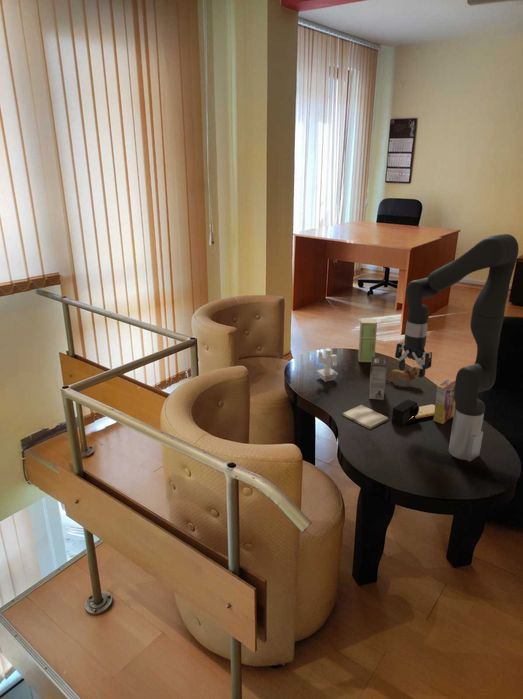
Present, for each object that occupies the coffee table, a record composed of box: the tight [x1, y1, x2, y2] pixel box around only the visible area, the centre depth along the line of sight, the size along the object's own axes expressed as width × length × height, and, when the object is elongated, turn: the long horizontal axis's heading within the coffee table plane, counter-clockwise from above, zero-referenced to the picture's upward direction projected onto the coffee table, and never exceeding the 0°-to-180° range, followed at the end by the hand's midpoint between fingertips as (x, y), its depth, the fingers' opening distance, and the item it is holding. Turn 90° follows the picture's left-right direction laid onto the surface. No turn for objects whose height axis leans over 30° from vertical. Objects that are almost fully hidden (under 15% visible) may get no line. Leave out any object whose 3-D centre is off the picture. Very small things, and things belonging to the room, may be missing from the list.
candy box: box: [433, 378, 456, 425], centre depth 195 cm, size 9×4×15 cm, turn 133°
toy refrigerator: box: [357, 317, 378, 363], centre depth 249 cm, size 8×7×21 cm
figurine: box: [316, 347, 339, 383], centre depth 230 cm, size 7×9×15 cm
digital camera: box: [391, 399, 420, 428], centre depth 195 cm, size 10×5×7 cm, turn 133°
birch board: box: [342, 404, 389, 430], centre depth 199 cm, size 14×11×1 cm
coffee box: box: [368, 356, 388, 401], centre depth 215 cm, size 9×6×16 cm
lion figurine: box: [385, 365, 420, 388], centre depth 226 cm, size 15×5×9 cm, turn 79°
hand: (411, 373), depth 189 cm, fingers open, 8 cm apart
